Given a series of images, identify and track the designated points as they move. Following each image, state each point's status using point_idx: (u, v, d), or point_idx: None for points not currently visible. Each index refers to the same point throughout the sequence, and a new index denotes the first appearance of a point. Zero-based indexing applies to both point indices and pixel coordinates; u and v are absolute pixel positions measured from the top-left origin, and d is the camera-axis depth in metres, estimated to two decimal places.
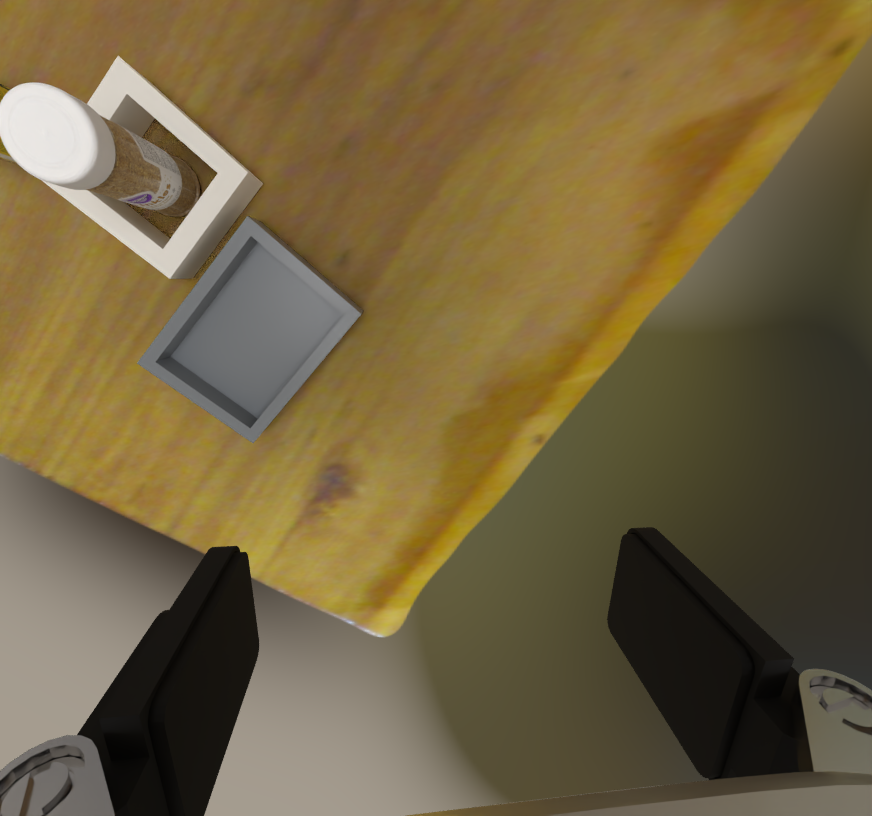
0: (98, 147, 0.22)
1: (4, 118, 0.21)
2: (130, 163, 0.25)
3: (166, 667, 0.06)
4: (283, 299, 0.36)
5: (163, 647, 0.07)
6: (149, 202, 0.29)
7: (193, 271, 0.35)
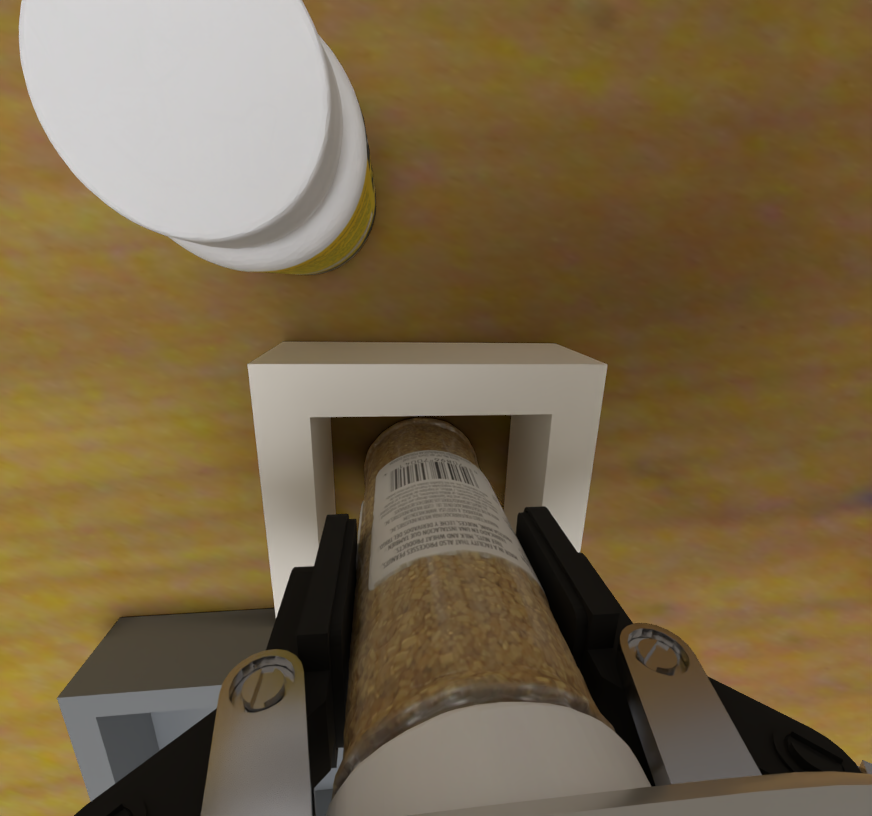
0: None
1: None
2: None
3: (333, 601, 0.08)
4: None
5: (324, 587, 0.08)
6: None
7: None
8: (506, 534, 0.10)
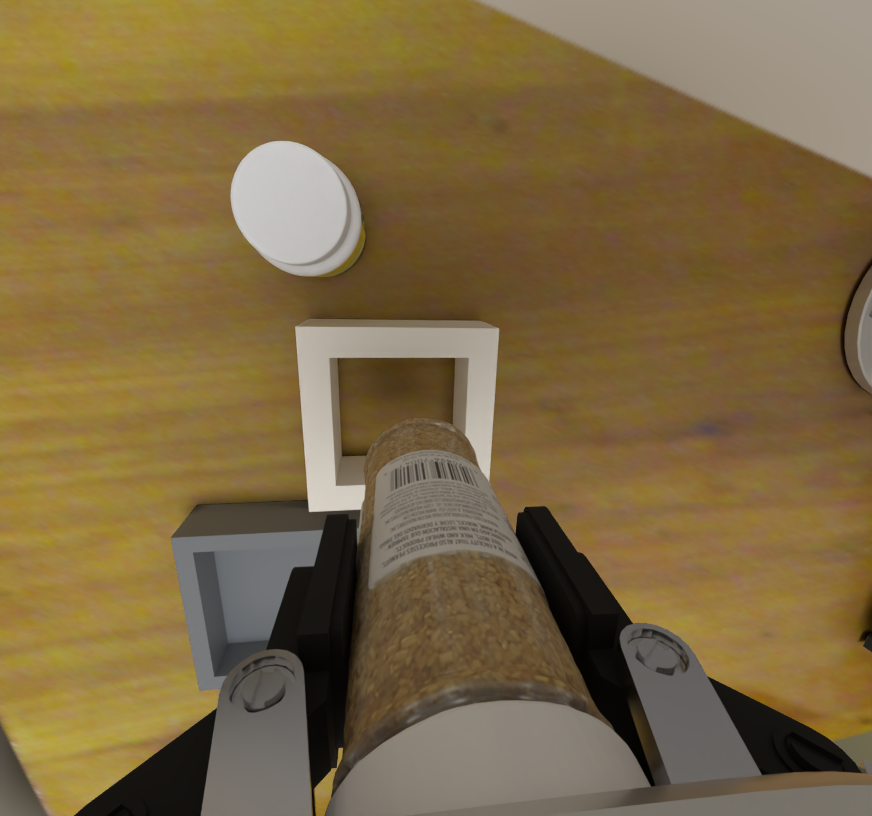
0: None
1: None
2: None
3: (332, 601, 0.08)
4: None
5: (324, 587, 0.08)
6: None
7: None
8: (506, 534, 0.10)
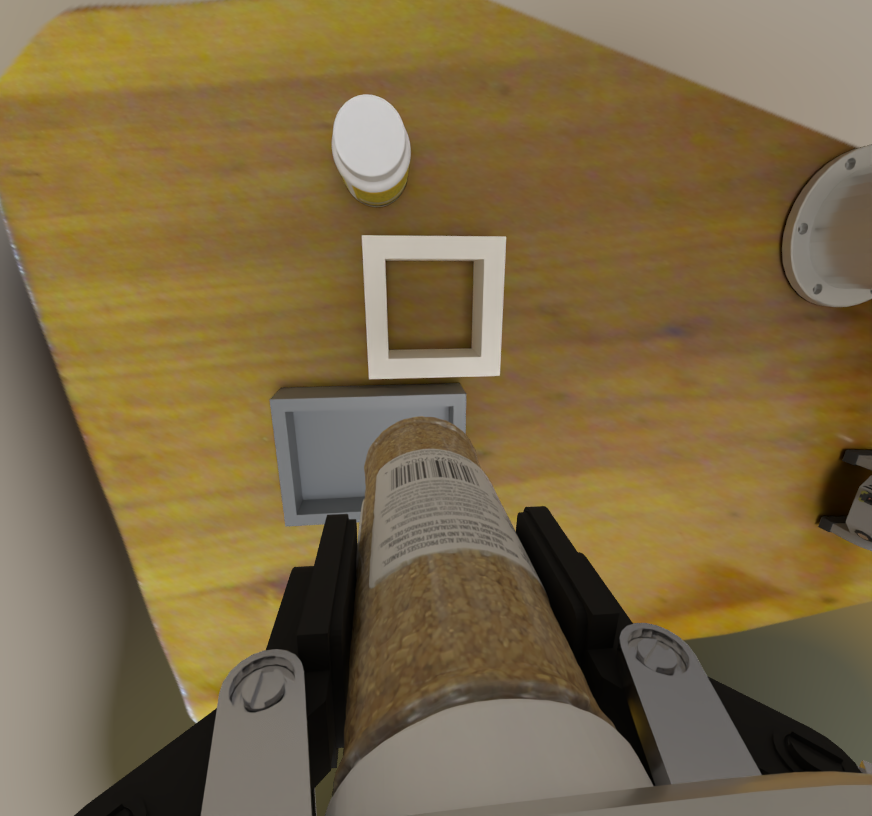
0: None
1: None
2: None
3: (333, 602, 0.08)
4: None
5: (324, 587, 0.08)
6: None
7: None
8: (507, 532, 0.10)
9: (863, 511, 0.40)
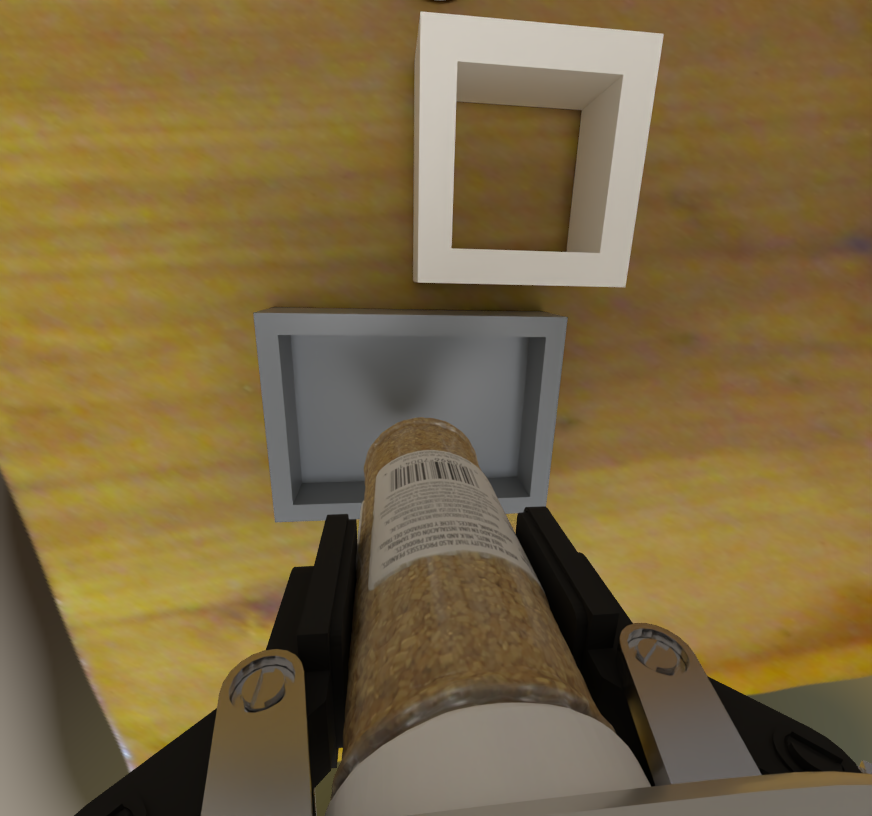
0: None
1: None
2: None
3: (332, 601, 0.08)
4: (478, 405, 0.24)
5: (324, 587, 0.08)
6: None
7: None
8: (506, 534, 0.10)
9: None
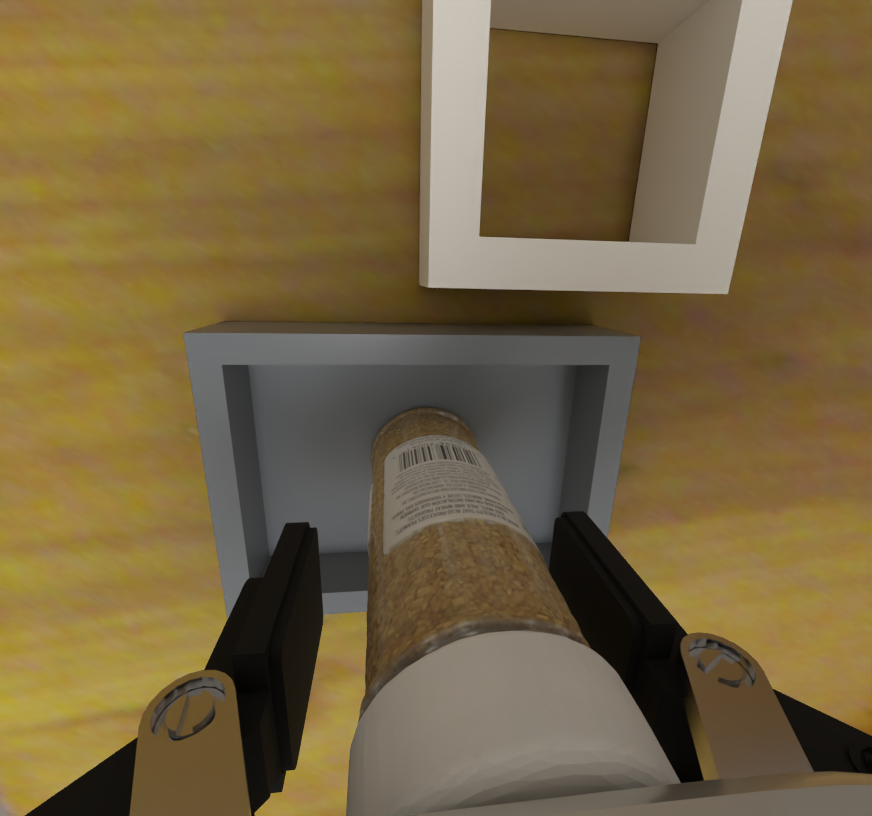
0: None
1: None
2: None
3: (276, 617, 0.07)
4: (506, 451, 0.18)
5: (269, 602, 0.08)
6: None
7: None
8: (508, 507, 0.11)
9: None
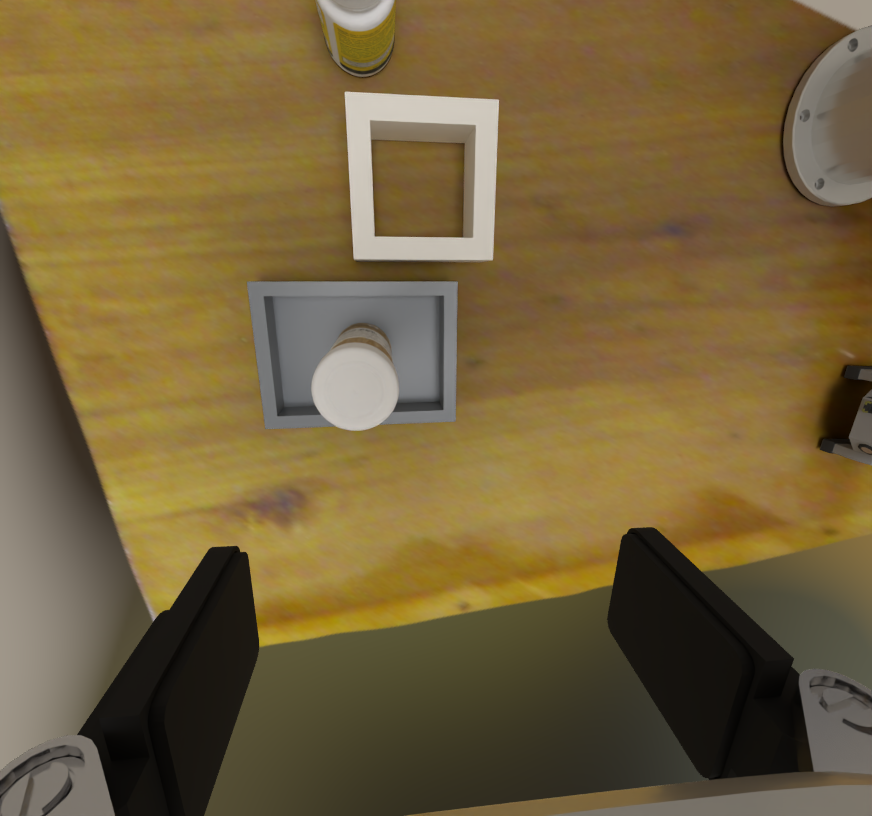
0: (378, 424, 0.23)
1: (339, 360, 0.21)
2: None
3: (166, 667, 0.06)
4: (407, 348, 0.35)
5: (163, 647, 0.07)
6: None
7: None
8: (380, 341, 0.27)
9: (866, 423, 0.39)
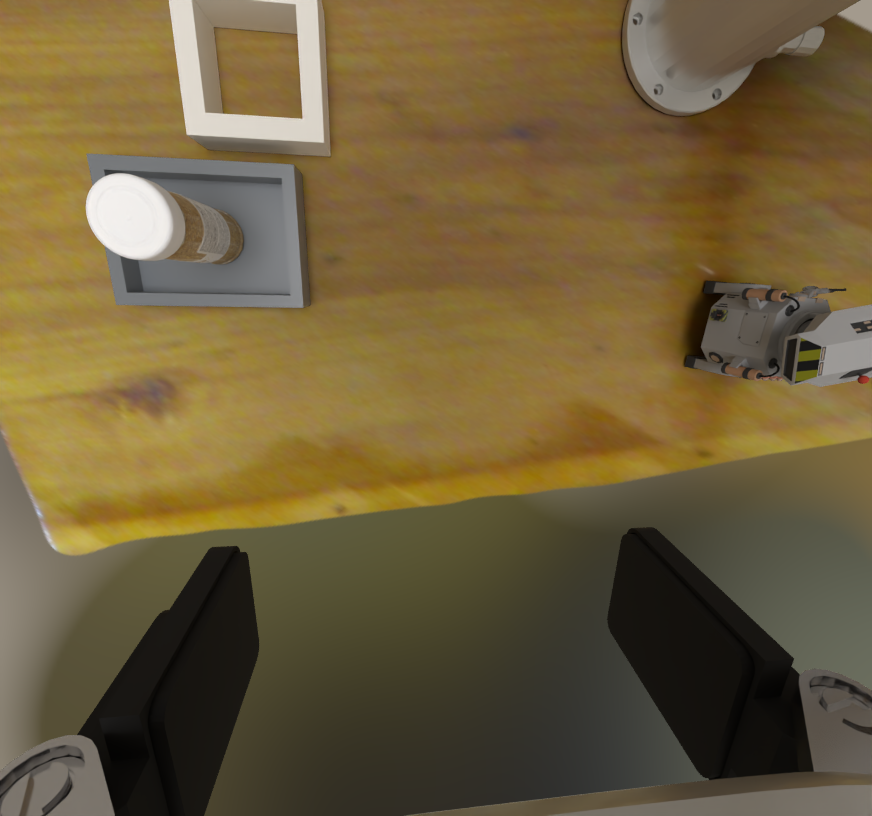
0: (157, 254, 0.25)
1: (108, 183, 0.23)
2: (180, 255, 0.28)
3: (165, 668, 0.06)
4: (260, 238, 0.37)
5: (163, 647, 0.07)
6: None
7: (213, 147, 0.34)
8: (195, 202, 0.29)
9: (713, 331, 0.40)
